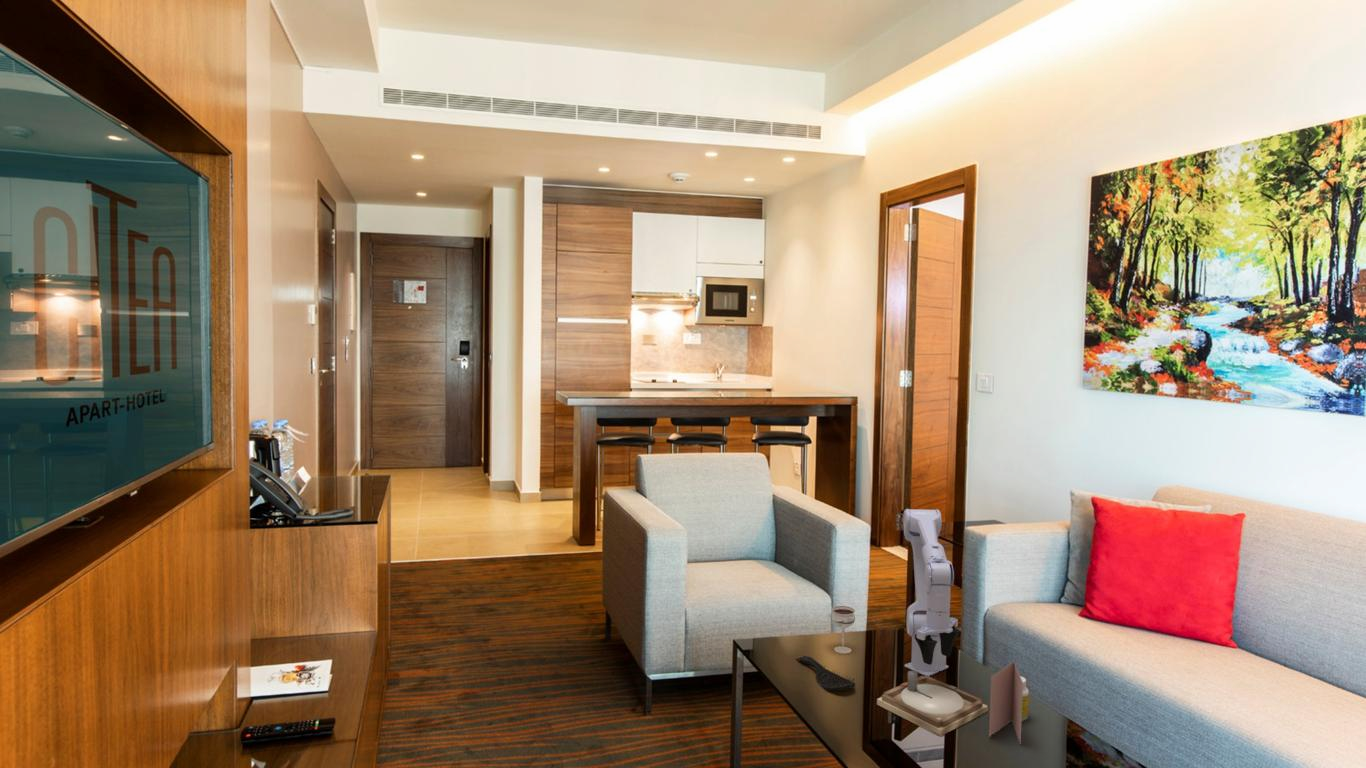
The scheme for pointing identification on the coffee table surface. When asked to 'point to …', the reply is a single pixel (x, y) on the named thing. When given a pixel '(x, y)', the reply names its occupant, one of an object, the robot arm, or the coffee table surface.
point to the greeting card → (1006, 699)
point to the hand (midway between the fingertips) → (936, 659)
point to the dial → (930, 698)
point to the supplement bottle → (1025, 699)
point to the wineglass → (843, 623)
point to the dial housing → (934, 724)
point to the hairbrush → (828, 676)
